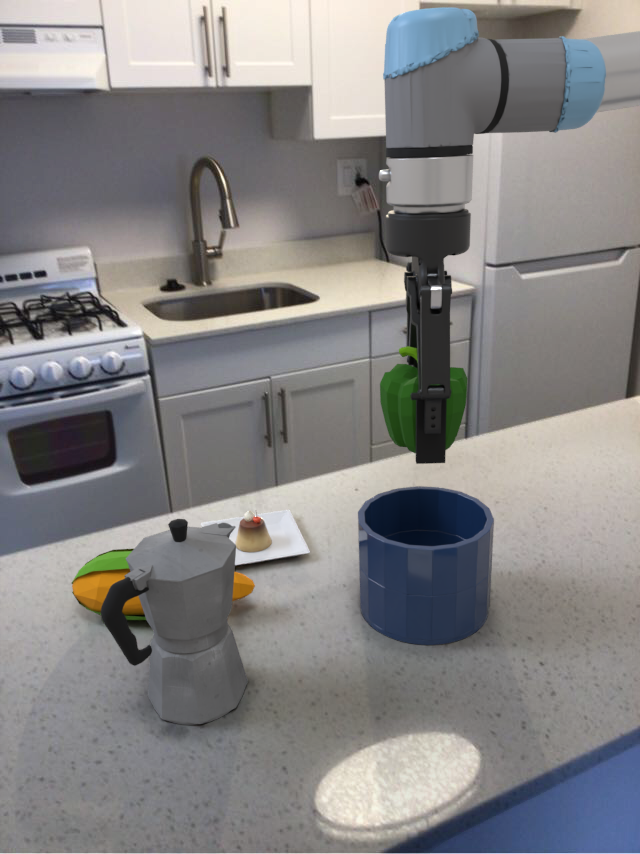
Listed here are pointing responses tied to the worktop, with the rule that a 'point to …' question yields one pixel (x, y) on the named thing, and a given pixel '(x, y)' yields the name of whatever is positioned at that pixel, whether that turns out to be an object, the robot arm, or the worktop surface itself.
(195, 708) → the coffeepot
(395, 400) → the bell pepper
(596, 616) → the worktop surface
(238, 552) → the dessert
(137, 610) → the corn
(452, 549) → the pot
